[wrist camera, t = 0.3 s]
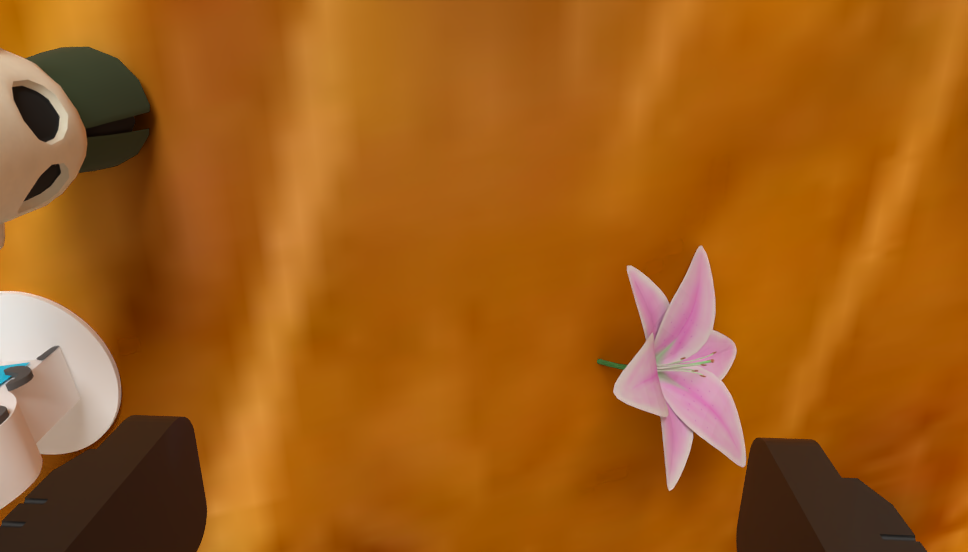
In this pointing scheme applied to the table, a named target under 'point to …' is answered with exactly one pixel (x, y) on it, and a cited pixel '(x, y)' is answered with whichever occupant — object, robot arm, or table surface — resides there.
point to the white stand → (49, 387)
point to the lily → (682, 368)
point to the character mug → (62, 123)
